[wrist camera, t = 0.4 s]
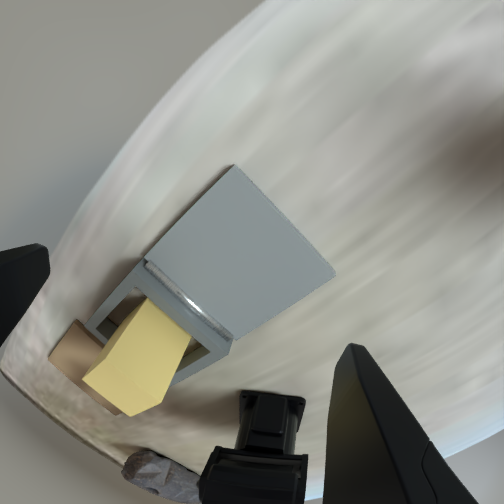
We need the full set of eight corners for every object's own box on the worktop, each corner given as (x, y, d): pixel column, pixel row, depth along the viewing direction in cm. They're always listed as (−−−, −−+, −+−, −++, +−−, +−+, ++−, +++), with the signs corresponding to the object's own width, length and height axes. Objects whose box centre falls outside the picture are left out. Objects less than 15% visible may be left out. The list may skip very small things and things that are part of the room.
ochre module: (193, 332, 27) (161, 402, 20) (163, 353, 30) (130, 416, 23) (150, 293, 26) (105, 359, 19) (123, 319, 28) (81, 379, 21)
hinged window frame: (335, 271, 22) (336, 286, 21) (168, 376, 31) (162, 390, 29) (235, 164, 20) (227, 171, 18) (94, 313, 29) (83, 325, 27)
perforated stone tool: (221, 479, 44) (211, 514, 38) (203, 483, 46) (194, 515, 40) (143, 439, 41) (127, 475, 35) (131, 444, 43) (116, 477, 37)
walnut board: (161, 390, 33) (159, 394, 32) (117, 412, 38) (115, 415, 37) (76, 319, 30) (74, 322, 29) (49, 356, 35) (47, 359, 35)
